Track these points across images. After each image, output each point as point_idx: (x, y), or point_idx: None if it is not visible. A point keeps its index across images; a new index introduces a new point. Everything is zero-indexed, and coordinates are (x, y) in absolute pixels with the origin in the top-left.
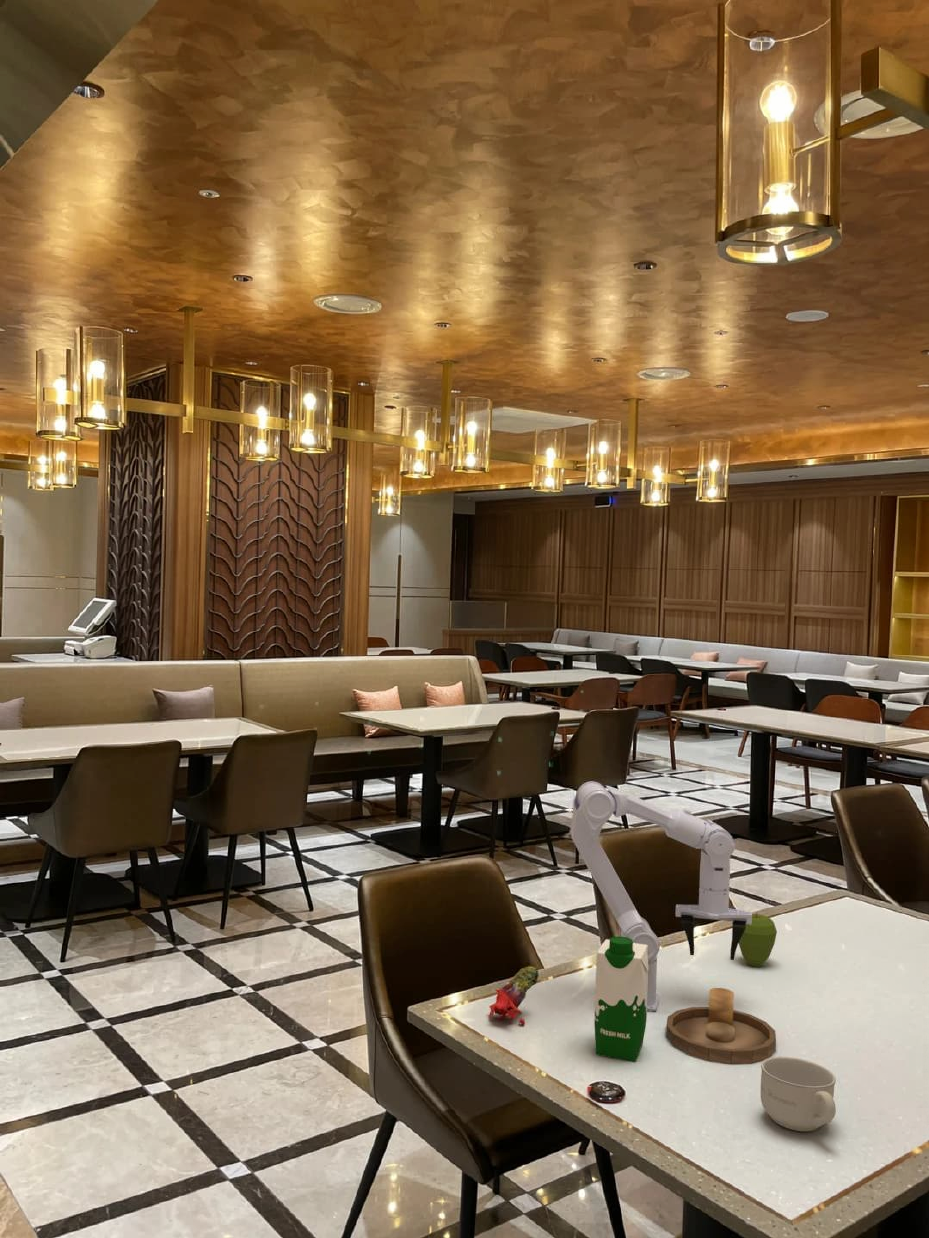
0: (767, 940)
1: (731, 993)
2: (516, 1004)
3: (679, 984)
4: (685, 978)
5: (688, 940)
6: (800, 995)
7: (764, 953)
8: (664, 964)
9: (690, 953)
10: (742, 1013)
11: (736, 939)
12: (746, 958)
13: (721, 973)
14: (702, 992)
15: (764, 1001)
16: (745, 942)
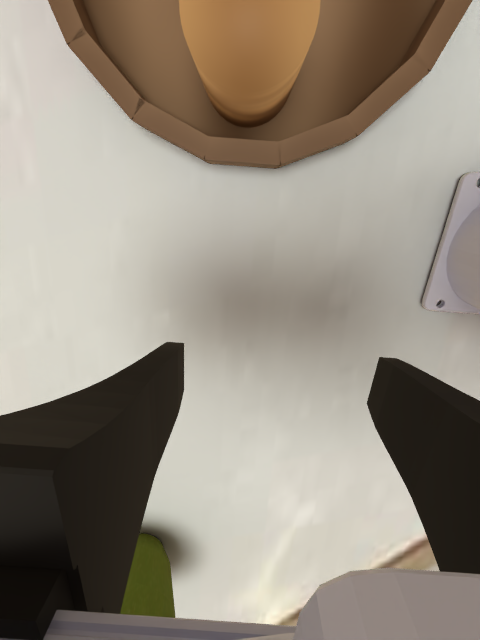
0: None
1: (192, 3)
2: None
3: (338, 406)
4: (315, 444)
5: (471, 398)
6: (28, 405)
7: None
8: (356, 509)
9: (401, 361)
10: (162, 123)
11: (98, 394)
12: (160, 551)
13: (222, 487)
14: (280, 368)
15: (113, 346)
16: (150, 594)
